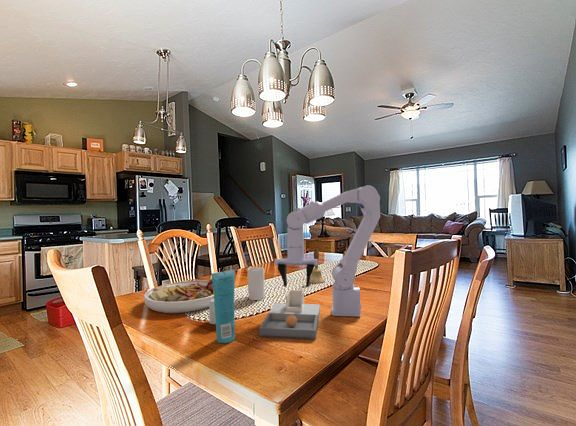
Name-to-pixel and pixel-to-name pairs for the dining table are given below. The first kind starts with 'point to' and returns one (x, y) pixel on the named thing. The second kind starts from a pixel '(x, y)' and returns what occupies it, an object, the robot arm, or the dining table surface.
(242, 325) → the dining table surface
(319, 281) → the hand bell
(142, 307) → the dining table surface
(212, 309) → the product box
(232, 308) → the tube
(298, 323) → the tray
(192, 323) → the dining table surface
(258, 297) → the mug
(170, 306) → the bowl
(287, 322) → the ball
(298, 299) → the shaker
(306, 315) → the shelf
